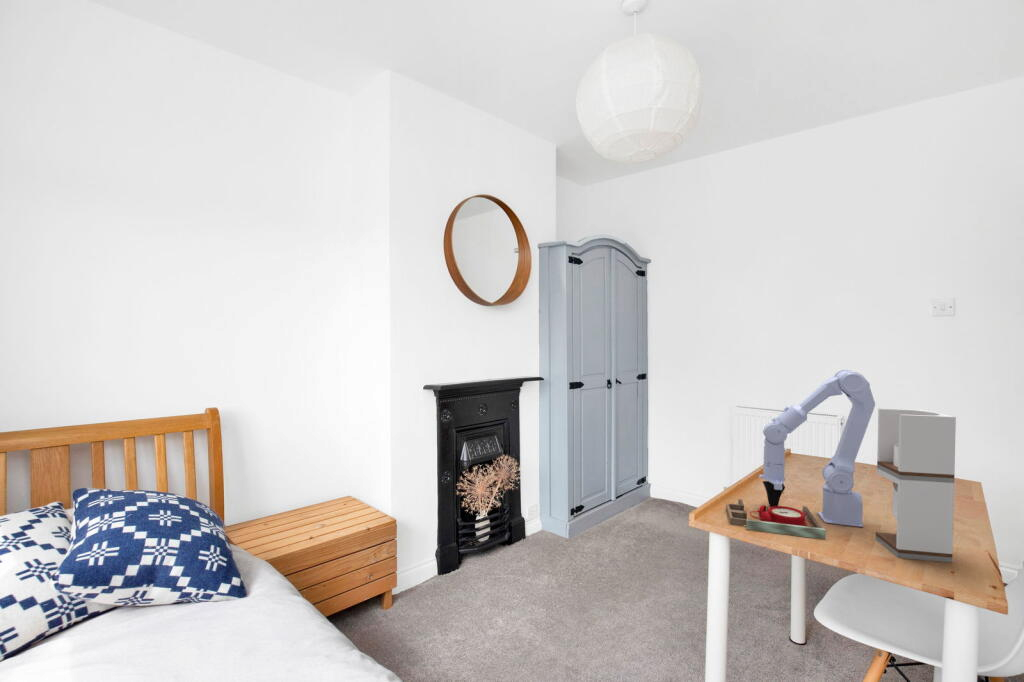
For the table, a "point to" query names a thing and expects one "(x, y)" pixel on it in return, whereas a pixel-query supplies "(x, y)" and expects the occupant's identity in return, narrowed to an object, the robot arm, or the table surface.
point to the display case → (918, 481)
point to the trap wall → (786, 526)
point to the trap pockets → (735, 514)
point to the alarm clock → (782, 515)
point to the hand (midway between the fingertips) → (773, 506)
